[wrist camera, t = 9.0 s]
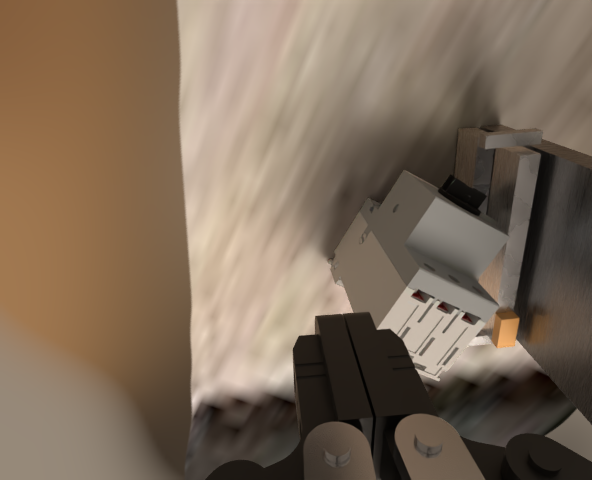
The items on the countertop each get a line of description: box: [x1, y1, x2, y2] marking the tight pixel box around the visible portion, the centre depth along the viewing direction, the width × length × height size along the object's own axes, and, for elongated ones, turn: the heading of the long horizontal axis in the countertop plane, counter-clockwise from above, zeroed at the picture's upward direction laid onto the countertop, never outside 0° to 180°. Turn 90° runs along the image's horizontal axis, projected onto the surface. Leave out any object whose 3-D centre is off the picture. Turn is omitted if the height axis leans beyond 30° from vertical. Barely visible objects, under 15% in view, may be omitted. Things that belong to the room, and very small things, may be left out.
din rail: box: [454, 127, 541, 348], centre depth 40 cm, size 17×2×12 cm, turn 4°
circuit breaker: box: [328, 170, 510, 381], centre depth 39 cm, size 8×14×15 cm, turn 152°
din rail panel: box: [468, 125, 592, 424], centre depth 34 cm, size 20×6×26 cm, turn 4°
